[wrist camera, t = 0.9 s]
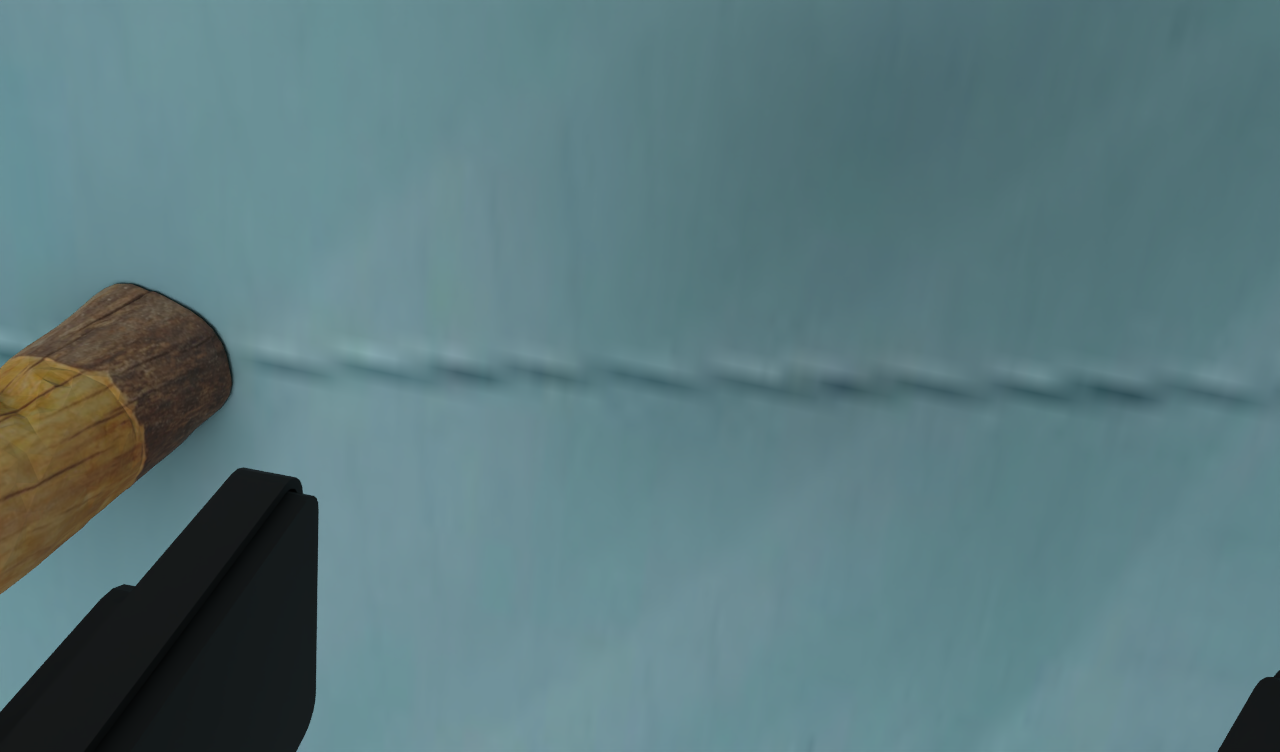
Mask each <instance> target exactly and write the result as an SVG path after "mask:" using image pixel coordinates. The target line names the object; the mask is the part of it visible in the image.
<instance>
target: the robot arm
mask: <svg viewBox="0 0 1280 752" xmlns="http://www.w3.org/2000/svg"><path fill="white" fill-rule="evenodd" d="M317 574H318V501H317V498H316V497H314V496H311V495H306V494H303V491H302V485H301V482H300V480H299V479H297V478H296V477H291V476H285V475H280V474H275V473H269V472H264V471H259V470H253V469H248V468H239V469H237V470H236V471H235V472H233V473H232V474H231V475H230V477H229V478H228V479H227V480H226V481H225V482H224V484H223V485H222V486H221V487H220V488H219V489H218V491H217V492H216V493H215V494H214V495H213V496H212V498H211V499H210V500H209V501H208V502H207V503H206V505H205V506H204V507H203V508H202V509H201V510H200V512H199V513H198V514H197V515H196V516H195V517H194V519H193V520H192V521H191V522H190V523H189V524H188V526H187V527H186V528H185V529H184V530H183V531H182V533H181V534H180V535H179V536H178V537H177V538H176V540H175V541H174V542H173V543H172V544H171V545H170V547H169V548H168V549H167V550H166V551H165V552H164V554H163V555H162V556H161V557H160V558H159V559H158V561H157V562H156V563H155V564H154V565H153V566H152V567H151V569H150V570H149V571H148V572H147V573H146V574H145V576H144V577H143V578H142V579H141V580H140V581H139V583H138V584H137V585H136V586H131V585H125V584H123V585H121V586H118V587H116V588H113V589H112V590H111V591H110V592H108V593H107V594H106V595H105V596H104V597H103V598H102V599H100V601H99V602H98V603H97V604H96V605H95V606H94V607H93V608H92V610H91V611H90V612H89V613H88V614H87V615H86V616H85V617H84V619H83V620H82V621H81V622H80V623H79V624H78V625H77V626H76V628H75V629H74V630H73V631H72V632H71V633H70V634H69V635H68V637H67V638H66V639H65V640H64V641H63V642H62V643H61V644H60V646H59V647H58V648H57V649H56V650H55V651H54V652H53V653H52V655H51V656H50V657H49V658H48V659H47V660H46V661H45V662H44V664H43V665H42V666H41V667H40V668H39V669H38V670H37V671H36V673H35V674H34V675H33V676H32V677H31V678H30V679H29V680H28V681H27V683H26V684H25V685H24V686H23V687H22V688H21V689H20V690H19V692H18V693H17V694H16V695H15V696H14V697H13V698H12V699H11V701H10V702H9V703H8V704H7V705H6V706H5V707H4V708H3V710H2V711H1V712H0V752H296V751H297V749H298V747H299V745H300V743H301V741H302V739H303V737H304V735H305V733H306V731H307V729H308V726H309V723H310V720H311V717H312V713H313V710H314V704H315V696H316V641H317ZM1218 752H1280V670H1279V671H1278V672H1277V673H1276V675H1275V676H1274V677H1266V678H1264V679H1262V680H1261V681H1259V683H1258V684H1257V685H1256V687H1255V688H1254V690H1253V692H1252V693H1251V695H1250V697H1249V698H1248V700H1247V702H1246V704H1245V705H1244V707H1243V709H1242V710H1241V712H1240V714H1239V716H1238V717H1237V719H1236V721H1235V723H1234V724H1233V726H1232V728H1231V729H1230V731H1229V733H1228V735H1227V736H1226V738H1225V740H1224V742H1223V743H1222V745H1221V747H1220V748H1219V750H1218Z"/></svg>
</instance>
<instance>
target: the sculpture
mask: <svg viewBox="0 0 1280 752" xmlns="http://www.w3.org/2000/svg"><path fill="white" fill-rule="evenodd" d="M231 385H232V382H231V374H230V369H229V365H228V360H227V355H226V353H225V350H224V347H223V345H222V343H221V341H220V340H219V338H218V337H217V335H216V334H215V332H214V331H213V329H212V328H211V327H210V326H209V325H208V324H207V323H206V322H205V321H204V320H203V319H201V318H200V317H198V316H197V315H196V314H194V313H193V312H192V311H191V310H189V309H187V308H185V307H183V306H181V305H179V304H177V303H176V302H174V301H172V300H170V299H168V298H167V297H165V296H163V295H160V294H158V293H156V292H153V291H148V290H145V289H143V288H141V287H138V286H136V285H133V284H114V285H112V286H110V287H107V288H105V289H103V290H102V291H100V292H99V293H97V294H96V295H95V296H93V297H92V298H91V299H90V300H89V301H87V302H86V303H85V304H84V305H83V306H82V307H81V308H79V309H78V310H77V311H76V312H75V313H74V314H72V315H71V316H70V317H69V318H67V319H66V320H65V321H64V322H62V323H61V324H60V325H58V326H57V327H56V328H54V329H53V330H51V331H50V332H48V333H47V334H45V335H44V336H42V337H41V338H39V339H38V340H36V341H35V342H33V343H31V344H30V345H28V346H27V347H26V348H24V349H23V350H22V351H20V352H19V353H17V354H16V355H15V356H13V357H12V358H11V359H9V360H8V361H7V362H6V363H5V364H4V365H3V366H2V367H1V368H0V594H1V593H3V592H4V591H5V590H7V589H8V588H9V587H11V586H12V585H13V584H15V583H16V582H17V581H19V580H20V579H21V578H22V577H24V576H25V575H26V574H27V573H29V572H30V571H31V570H33V569H34V568H35V567H36V566H38V565H39V564H40V563H41V562H42V561H43V560H44V559H46V558H47V557H48V556H49V555H50V554H51V553H53V552H54V551H55V550H56V549H57V548H58V547H60V546H61V545H62V544H63V543H64V542H65V541H67V540H68V539H69V538H70V537H72V536H73V535H74V534H75V533H77V532H78V531H79V530H80V529H81V528H83V527H84V526H85V525H86V523H87V522H88V521H89V520H90V519H91V518H93V517H94V516H95V515H96V514H98V513H99V512H100V511H101V510H103V509H104V508H105V507H106V506H107V505H108V504H109V503H111V502H112V501H113V500H114V499H115V498H116V497H118V496H119V495H120V494H121V493H122V492H123V491H125V490H126V489H128V488H129V487H131V486H132V485H133V484H134V483H135V482H136V481H137V480H138V479H140V478H141V477H142V476H143V475H144V474H146V473H147V472H148V471H149V470H150V469H151V468H153V467H154V466H155V465H156V464H157V463H159V462H160V461H161V460H162V459H164V458H165V457H166V456H167V455H169V454H170V453H171V452H172V451H173V450H175V449H176V448H177V447H178V446H179V445H180V444H182V443H183V442H184V441H185V440H186V439H187V437H188V436H189V435H190V434H191V433H192V432H193V431H194V430H195V429H196V428H197V427H199V426H200V425H201V424H202V423H203V422H205V421H206V420H207V419H208V418H209V417H211V416H212V415H213V414H214V413H215V412H217V411H218V410H219V409H220V408H221V407H222V406H223V404H224V403H225V401H226V400H227V398H228V397H229V395H230V390H231Z"/></svg>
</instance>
